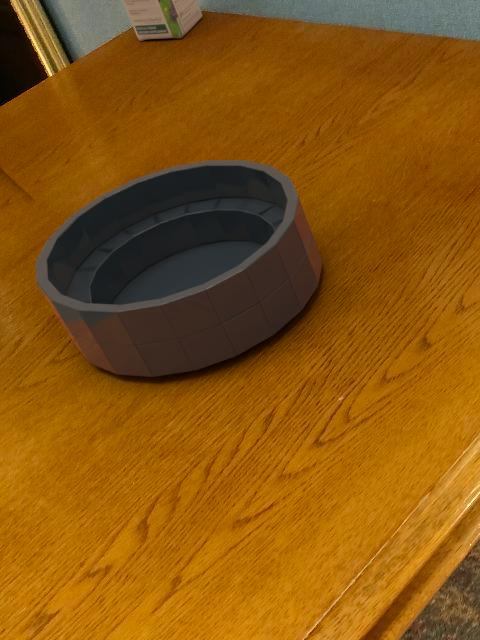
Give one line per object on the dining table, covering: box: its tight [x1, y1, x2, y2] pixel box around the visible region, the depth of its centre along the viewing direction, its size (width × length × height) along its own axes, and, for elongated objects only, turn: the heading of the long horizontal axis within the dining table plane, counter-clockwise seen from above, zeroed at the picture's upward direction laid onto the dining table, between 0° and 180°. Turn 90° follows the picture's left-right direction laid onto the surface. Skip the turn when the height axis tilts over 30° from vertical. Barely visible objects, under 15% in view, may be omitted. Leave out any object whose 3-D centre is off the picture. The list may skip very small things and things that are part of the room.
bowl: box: [35, 159, 323, 378], centre depth 72 cm, size 19×19×6 cm
